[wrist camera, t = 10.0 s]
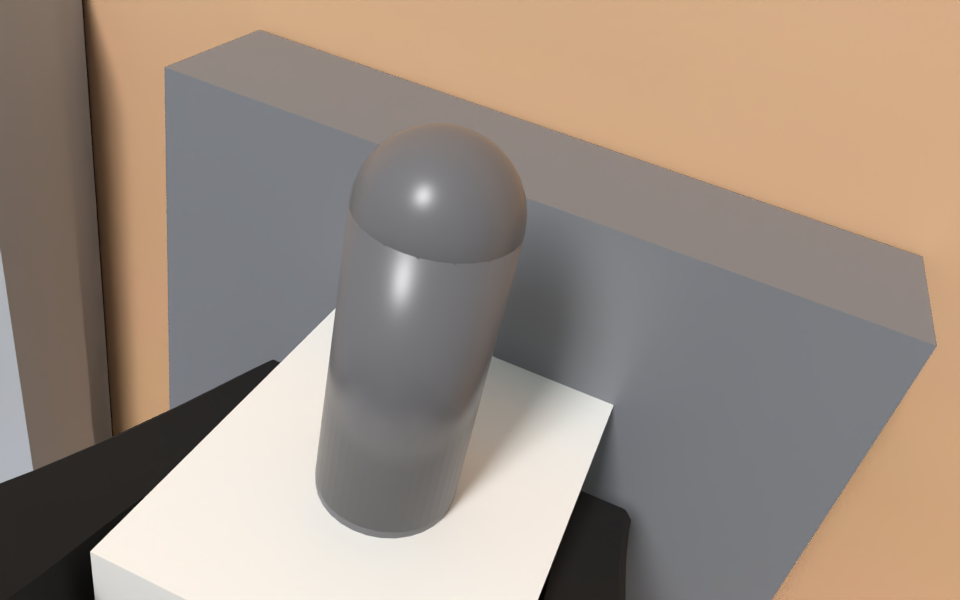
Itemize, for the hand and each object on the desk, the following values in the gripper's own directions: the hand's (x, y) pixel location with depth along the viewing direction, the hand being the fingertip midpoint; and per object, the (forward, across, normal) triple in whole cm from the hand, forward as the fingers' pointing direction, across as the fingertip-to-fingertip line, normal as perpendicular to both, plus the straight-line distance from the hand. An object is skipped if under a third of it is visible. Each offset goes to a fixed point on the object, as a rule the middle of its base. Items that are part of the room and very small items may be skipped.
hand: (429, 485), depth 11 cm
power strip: (+3, 0, +3) cm, 4 cm away
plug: (+2, 0, -2) cm, 3 cm away
